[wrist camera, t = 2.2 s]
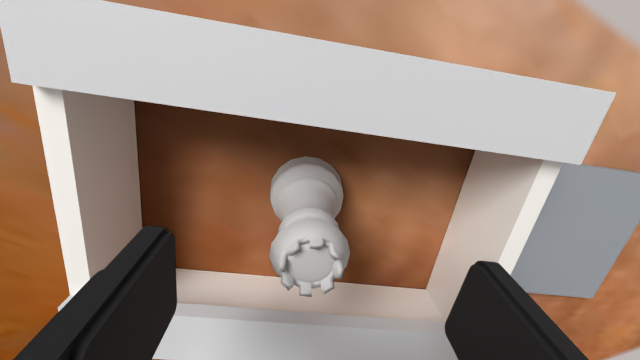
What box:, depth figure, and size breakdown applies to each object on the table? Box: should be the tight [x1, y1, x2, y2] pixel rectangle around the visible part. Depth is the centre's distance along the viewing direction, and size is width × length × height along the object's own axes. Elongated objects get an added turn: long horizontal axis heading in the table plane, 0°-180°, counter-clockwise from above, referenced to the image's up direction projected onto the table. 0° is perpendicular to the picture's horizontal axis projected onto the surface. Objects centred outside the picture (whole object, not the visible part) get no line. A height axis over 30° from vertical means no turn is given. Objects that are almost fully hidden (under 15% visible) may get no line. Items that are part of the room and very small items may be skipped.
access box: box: [0, 0, 616, 360], centre depth 16 cm, size 16×22×6 cm
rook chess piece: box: [269, 156, 350, 297], centre depth 15 cm, size 4×4×8 cm
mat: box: [510, 163, 640, 298], centre depth 21 cm, size 10×10×1 cm
